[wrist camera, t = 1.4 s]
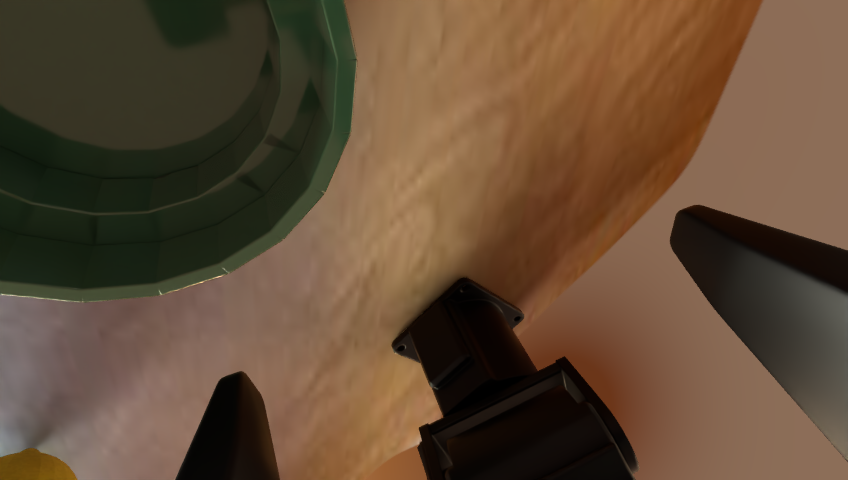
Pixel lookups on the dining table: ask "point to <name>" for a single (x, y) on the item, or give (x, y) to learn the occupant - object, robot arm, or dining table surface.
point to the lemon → (34, 467)
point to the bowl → (162, 137)
